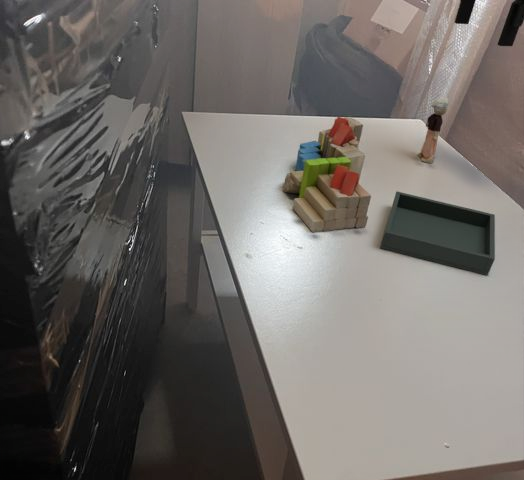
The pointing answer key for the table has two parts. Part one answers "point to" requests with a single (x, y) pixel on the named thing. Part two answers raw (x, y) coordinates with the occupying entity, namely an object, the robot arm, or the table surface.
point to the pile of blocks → (330, 179)
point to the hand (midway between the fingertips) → (481, 34)
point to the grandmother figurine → (433, 129)
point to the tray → (441, 233)
